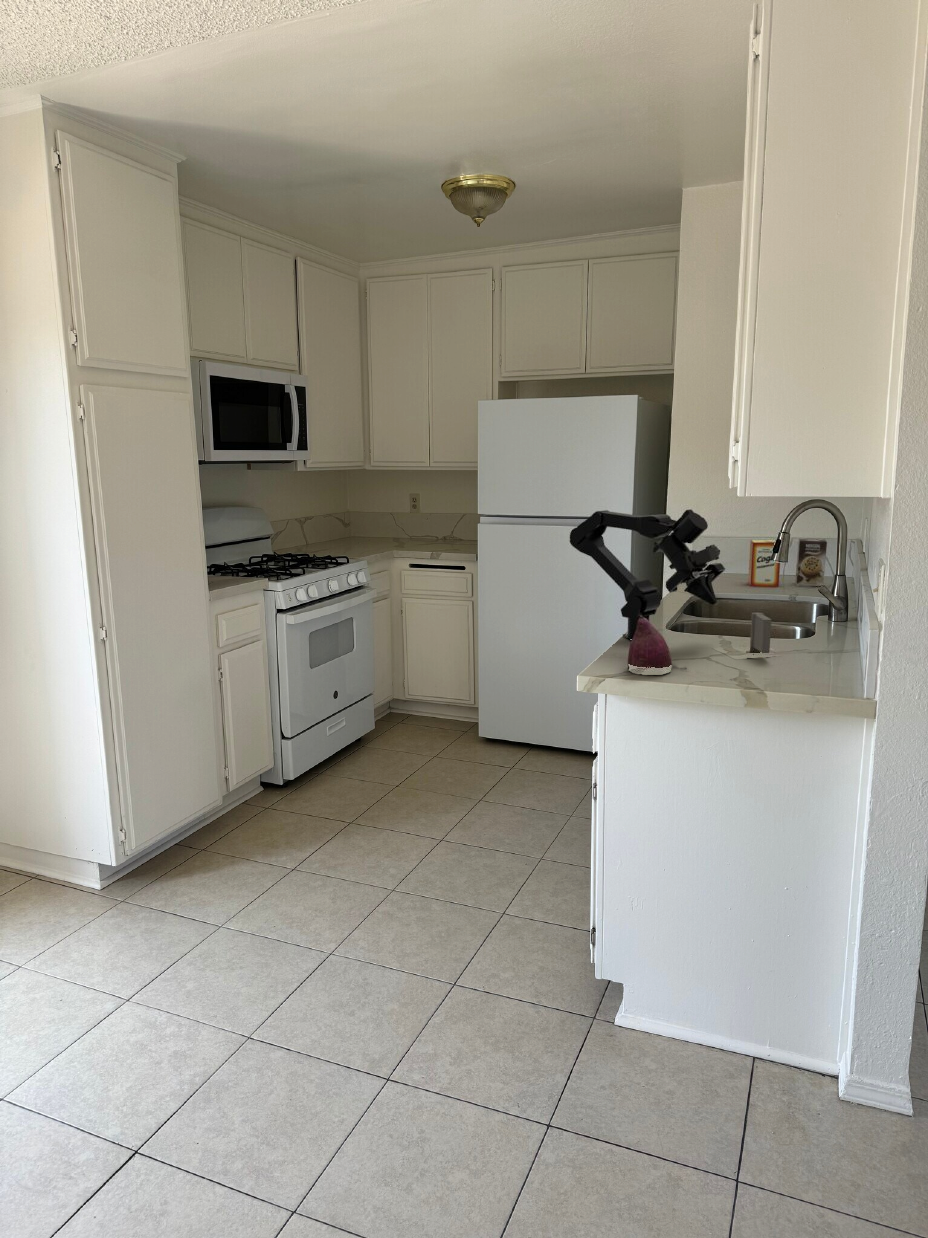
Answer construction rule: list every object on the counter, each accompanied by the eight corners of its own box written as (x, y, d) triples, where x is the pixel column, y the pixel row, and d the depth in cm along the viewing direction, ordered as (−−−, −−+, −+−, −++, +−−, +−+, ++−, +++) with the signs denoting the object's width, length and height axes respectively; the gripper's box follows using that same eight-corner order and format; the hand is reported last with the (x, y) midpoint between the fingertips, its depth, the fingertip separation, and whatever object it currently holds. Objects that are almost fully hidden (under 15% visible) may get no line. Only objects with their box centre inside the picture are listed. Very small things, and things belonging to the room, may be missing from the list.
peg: (759, 658, 205) (762, 619, 203) (748, 650, 213) (750, 612, 211) (783, 658, 205) (785, 619, 203) (770, 649, 213) (773, 612, 211)
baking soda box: (750, 586, 306) (752, 541, 302) (748, 583, 312) (750, 538, 308) (778, 586, 304) (781, 541, 300) (775, 583, 310) (778, 539, 307)
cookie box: (796, 586, 304) (799, 540, 301) (794, 583, 310) (797, 538, 307) (824, 587, 302) (827, 541, 298) (822, 584, 308) (825, 538, 304)
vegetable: (640, 690, 198) (631, 632, 192) (621, 673, 208) (611, 617, 202) (681, 676, 200) (673, 618, 194) (660, 659, 209) (652, 603, 204)
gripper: (677, 538, 208) (715, 589, 203) (720, 531, 221) (757, 579, 215) (649, 566, 216) (685, 616, 210) (692, 558, 228) (727, 605, 222)
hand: (715, 603), depth 214 cm, fingers closed
